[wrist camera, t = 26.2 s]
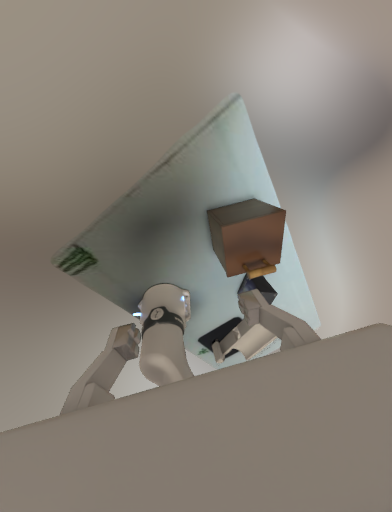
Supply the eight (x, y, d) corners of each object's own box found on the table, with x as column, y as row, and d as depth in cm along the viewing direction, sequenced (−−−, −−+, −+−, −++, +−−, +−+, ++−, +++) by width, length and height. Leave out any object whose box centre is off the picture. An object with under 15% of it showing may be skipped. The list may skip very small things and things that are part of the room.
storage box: (254, 238, 49) (278, 259, 38) (213, 249, 48) (226, 273, 38) (254, 198, 42) (283, 209, 31) (206, 210, 41) (220, 225, 31)
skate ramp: (243, 349, 84) (252, 370, 76) (211, 342, 75) (216, 365, 67) (276, 321, 75) (290, 342, 67) (243, 310, 66) (255, 331, 58)
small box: (246, 271, 55) (261, 292, 46) (261, 273, 57) (279, 293, 48) (236, 293, 60) (248, 315, 51) (250, 294, 62) (265, 315, 53)
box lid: (278, 261, 39) (291, 273, 34) (226, 275, 38) (233, 289, 34) (283, 209, 31) (301, 216, 27) (220, 226, 31) (228, 235, 27)
